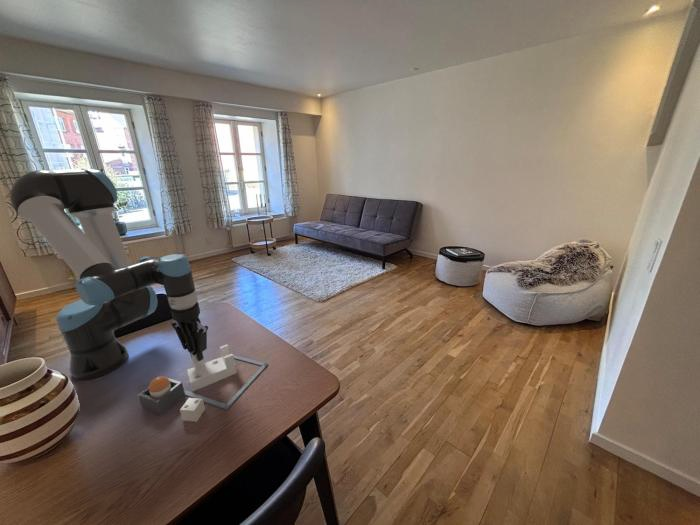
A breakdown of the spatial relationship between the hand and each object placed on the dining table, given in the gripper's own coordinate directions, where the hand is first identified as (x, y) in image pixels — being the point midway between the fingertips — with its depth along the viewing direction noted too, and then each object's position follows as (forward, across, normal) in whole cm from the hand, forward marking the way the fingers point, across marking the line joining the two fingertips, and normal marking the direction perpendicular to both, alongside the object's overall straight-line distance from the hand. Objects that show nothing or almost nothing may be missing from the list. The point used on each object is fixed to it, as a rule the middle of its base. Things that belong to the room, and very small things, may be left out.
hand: (199, 367), depth 93 cm
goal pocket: (+1, +10, 0) cm, 11 cm away
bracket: (+2, +6, 0) cm, 6 cm away
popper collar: (+1, 0, -14) cm, 14 cm away
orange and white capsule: (0, +1, -13) cm, 14 cm away
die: (+2, +12, -14) cm, 19 cm away
